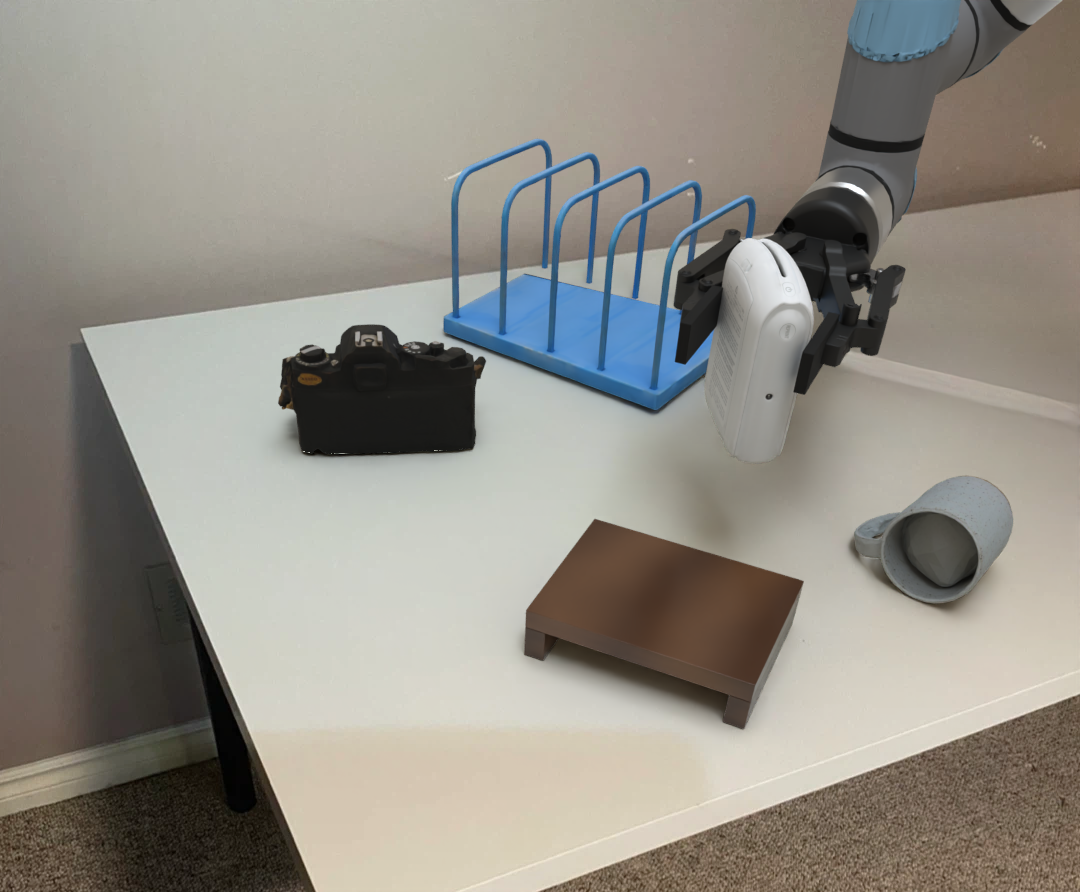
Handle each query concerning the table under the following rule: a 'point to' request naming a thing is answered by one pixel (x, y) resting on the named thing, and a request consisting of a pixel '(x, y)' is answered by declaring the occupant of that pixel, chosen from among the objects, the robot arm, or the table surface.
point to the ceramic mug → (940, 539)
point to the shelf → (668, 611)
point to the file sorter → (585, 299)
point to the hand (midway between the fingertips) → (742, 358)
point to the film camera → (381, 394)
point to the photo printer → (757, 349)
